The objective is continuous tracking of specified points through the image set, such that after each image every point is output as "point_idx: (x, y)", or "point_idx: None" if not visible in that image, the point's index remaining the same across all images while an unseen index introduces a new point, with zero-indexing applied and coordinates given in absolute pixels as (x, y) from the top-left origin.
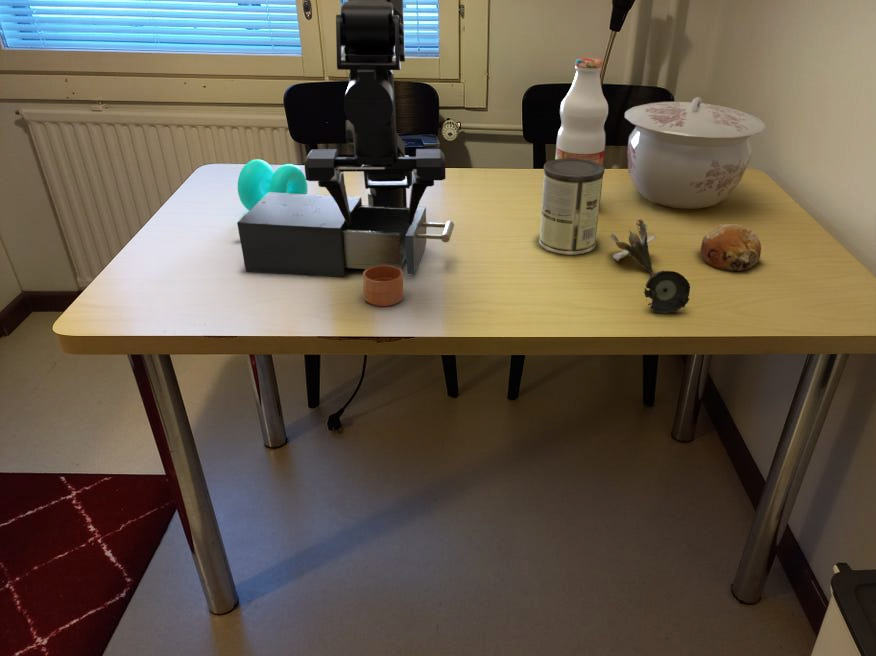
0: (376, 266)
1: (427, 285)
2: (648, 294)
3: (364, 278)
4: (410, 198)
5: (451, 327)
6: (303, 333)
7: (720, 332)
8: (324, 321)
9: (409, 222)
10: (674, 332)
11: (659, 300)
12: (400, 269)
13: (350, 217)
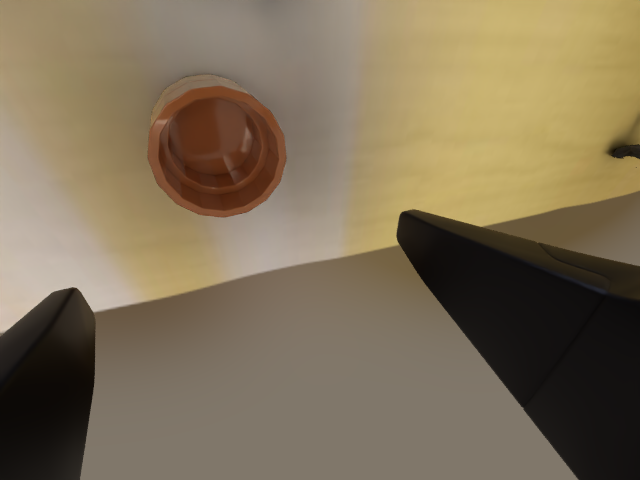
0: (185, 104)
1: (322, 43)
2: (635, 153)
3: (168, 194)
4: (505, 325)
5: (356, 234)
6: None
7: (622, 191)
8: (90, 263)
9: (404, 249)
10: (589, 198)
11: (635, 145)
12: (276, 126)
13: (70, 317)
